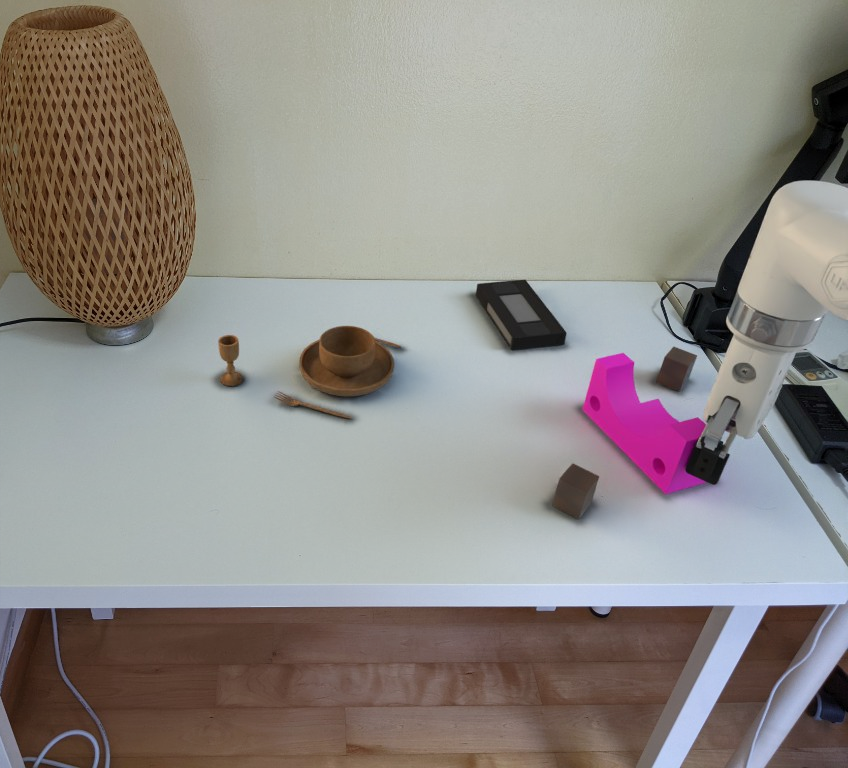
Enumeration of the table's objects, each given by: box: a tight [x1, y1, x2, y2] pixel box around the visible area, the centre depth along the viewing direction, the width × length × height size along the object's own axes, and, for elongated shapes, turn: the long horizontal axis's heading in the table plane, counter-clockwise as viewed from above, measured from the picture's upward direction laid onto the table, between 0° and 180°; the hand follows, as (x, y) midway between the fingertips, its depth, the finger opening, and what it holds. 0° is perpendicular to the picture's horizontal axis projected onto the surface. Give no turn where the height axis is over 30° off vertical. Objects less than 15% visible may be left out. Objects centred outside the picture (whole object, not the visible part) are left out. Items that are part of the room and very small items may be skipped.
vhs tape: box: [475, 279, 568, 351], centre depth 108 cm, size 8×14×2 cm, turn 11°
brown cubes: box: [551, 346, 698, 520], centre depth 88 cm, size 3×31×4 cm, turn 140°
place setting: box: [217, 325, 402, 420], centre depth 97 cm, size 18×20×6 cm
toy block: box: [582, 352, 707, 495], centre depth 86 cm, size 15×6×8 cm, turn 21°
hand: (716, 453), depth 82 cm, fingers open, 9 cm apart
